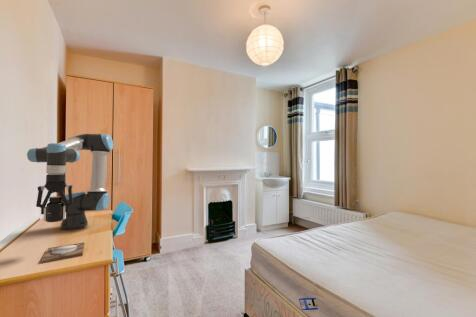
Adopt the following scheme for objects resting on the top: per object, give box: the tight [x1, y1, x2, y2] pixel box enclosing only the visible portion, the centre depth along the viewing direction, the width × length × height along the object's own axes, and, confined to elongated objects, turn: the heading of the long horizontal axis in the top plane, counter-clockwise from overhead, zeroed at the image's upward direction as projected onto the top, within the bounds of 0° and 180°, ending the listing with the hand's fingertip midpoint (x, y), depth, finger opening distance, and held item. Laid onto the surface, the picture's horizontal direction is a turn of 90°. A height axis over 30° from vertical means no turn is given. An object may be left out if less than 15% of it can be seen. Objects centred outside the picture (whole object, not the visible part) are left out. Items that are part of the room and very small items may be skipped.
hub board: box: [40, 242, 85, 264], centre depth 109 cm, size 16×15×2 cm
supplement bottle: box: [45, 195, 64, 223], centre depth 111 cm, size 7×7×12 cm
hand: (55, 219), depth 111 cm, fingers closed on supplement bottle, 7 cm apart
